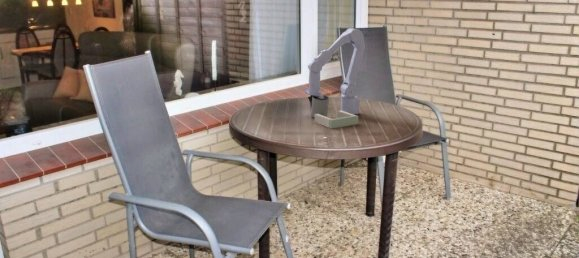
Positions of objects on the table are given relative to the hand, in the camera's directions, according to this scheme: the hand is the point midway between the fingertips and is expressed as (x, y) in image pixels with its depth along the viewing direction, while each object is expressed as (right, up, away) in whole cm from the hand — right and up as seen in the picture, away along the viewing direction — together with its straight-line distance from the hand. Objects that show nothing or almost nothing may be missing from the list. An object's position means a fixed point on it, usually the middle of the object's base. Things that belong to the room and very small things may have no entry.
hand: (313, 109), depth 252 cm
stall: (+10, -7, -14) cm, 18 cm away
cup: (+3, -3, -3) cm, 5 cm away
